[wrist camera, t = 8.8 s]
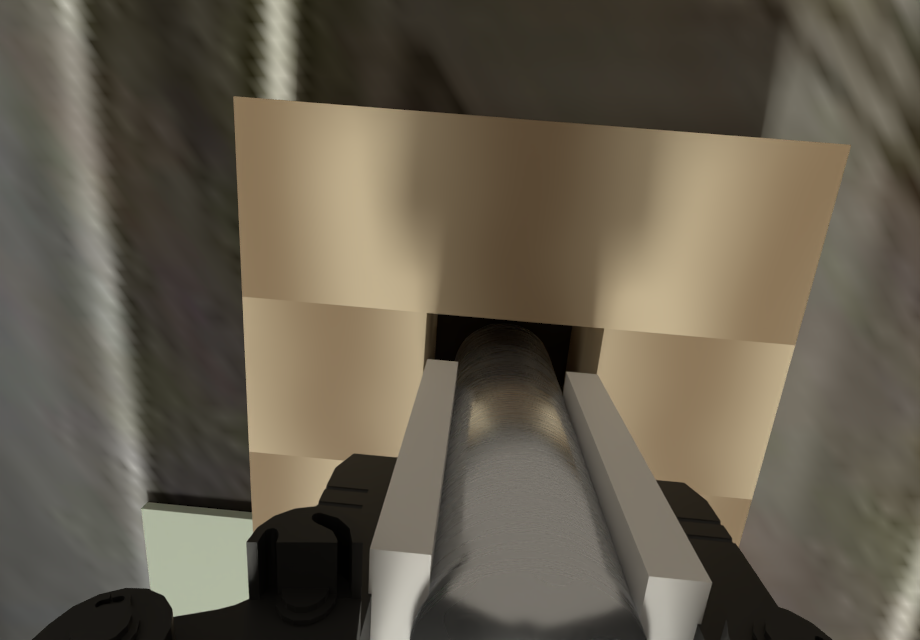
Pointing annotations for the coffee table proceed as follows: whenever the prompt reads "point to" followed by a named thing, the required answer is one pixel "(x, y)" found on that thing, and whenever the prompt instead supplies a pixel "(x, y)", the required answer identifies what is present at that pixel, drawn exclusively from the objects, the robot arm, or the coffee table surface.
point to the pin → (519, 510)
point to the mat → (197, 555)
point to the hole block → (519, 277)
